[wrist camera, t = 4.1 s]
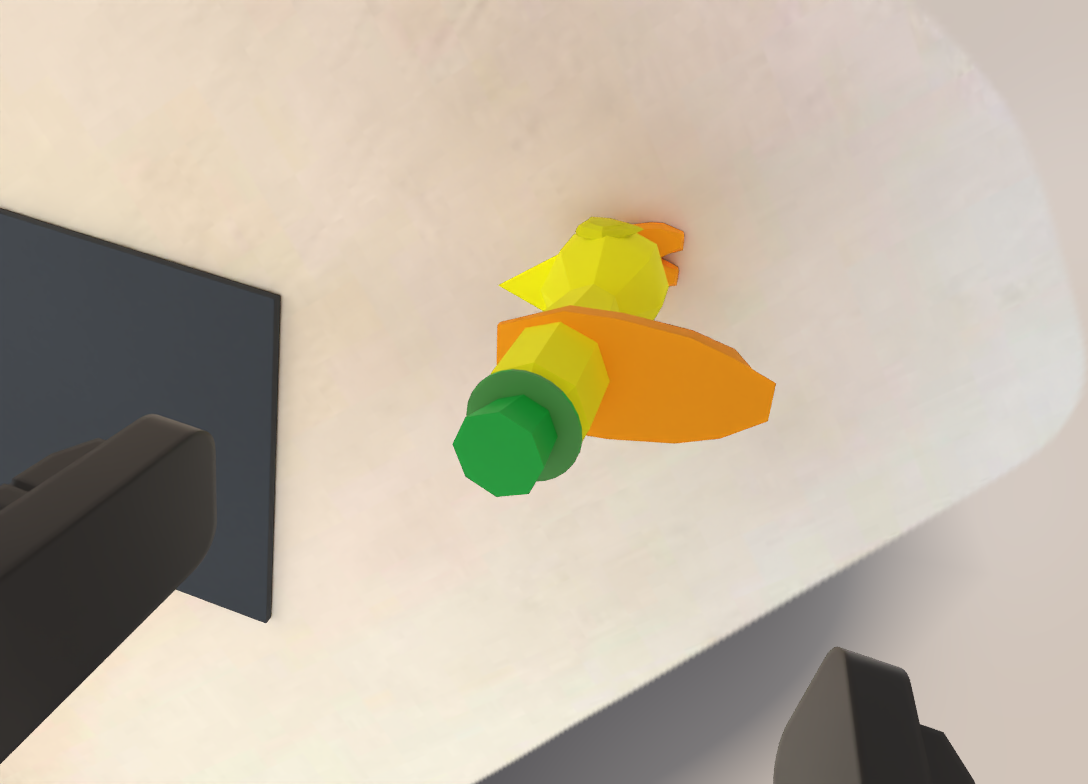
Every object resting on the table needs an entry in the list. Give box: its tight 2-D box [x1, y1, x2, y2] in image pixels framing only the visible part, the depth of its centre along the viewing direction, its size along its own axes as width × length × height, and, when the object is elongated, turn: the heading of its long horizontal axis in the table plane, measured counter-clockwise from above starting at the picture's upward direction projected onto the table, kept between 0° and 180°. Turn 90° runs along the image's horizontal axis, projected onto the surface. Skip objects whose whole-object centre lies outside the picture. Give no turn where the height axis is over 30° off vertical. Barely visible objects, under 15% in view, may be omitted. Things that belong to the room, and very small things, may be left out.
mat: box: [0, 209, 280, 623], centre depth 31 cm, size 16×16×1 cm
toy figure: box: [453, 217, 776, 497], centre depth 17 cm, size 7×4×12 cm, turn 87°
